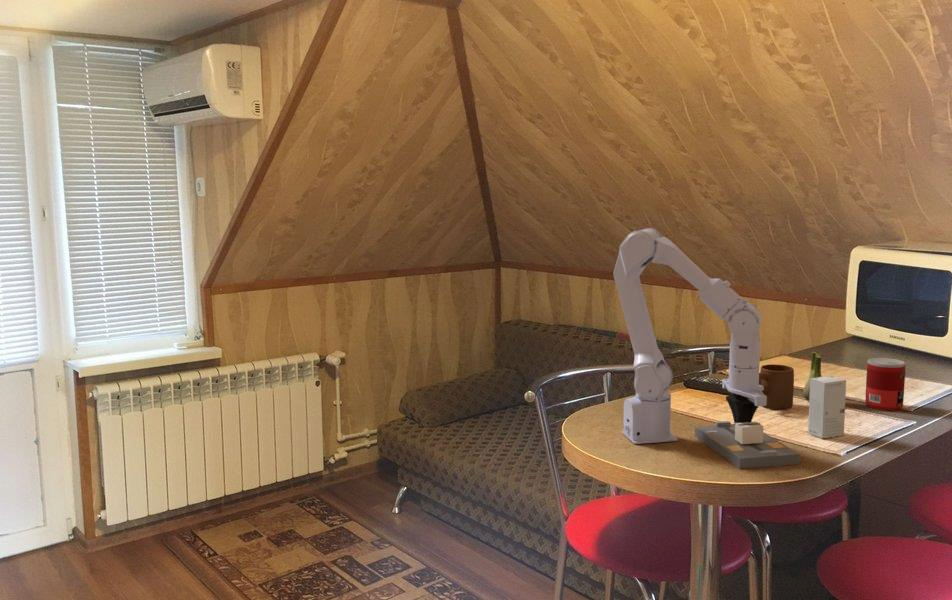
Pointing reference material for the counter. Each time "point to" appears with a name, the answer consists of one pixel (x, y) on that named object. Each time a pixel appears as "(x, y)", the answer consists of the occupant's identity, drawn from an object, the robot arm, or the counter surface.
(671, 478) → the counter surface
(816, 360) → the fennel bulb
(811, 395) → the skincare box
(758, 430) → the fader knob
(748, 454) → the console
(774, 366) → the mug
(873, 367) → the canned food
